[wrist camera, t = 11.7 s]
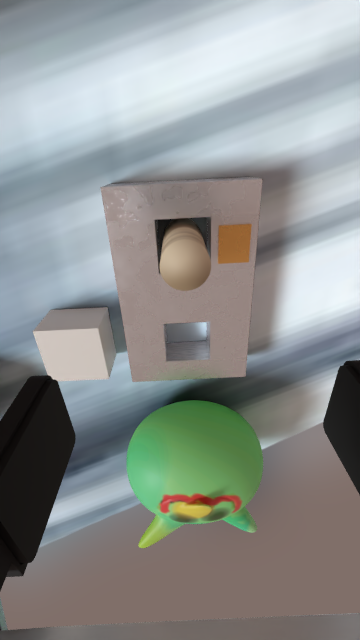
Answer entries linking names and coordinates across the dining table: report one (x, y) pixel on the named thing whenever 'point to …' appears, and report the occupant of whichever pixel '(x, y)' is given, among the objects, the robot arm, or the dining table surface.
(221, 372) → the plate
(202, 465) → the toy bird
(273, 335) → the dining table surface
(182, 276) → the peg
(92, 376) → the beige square block
